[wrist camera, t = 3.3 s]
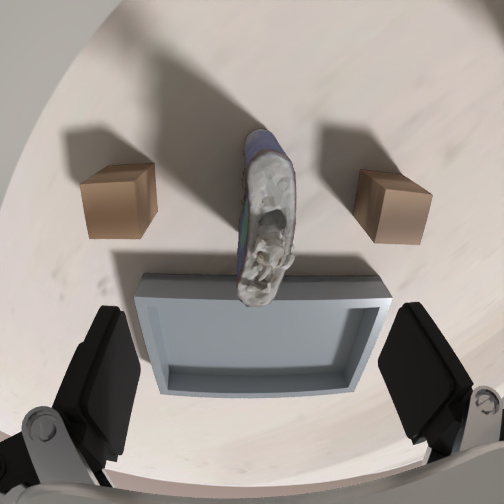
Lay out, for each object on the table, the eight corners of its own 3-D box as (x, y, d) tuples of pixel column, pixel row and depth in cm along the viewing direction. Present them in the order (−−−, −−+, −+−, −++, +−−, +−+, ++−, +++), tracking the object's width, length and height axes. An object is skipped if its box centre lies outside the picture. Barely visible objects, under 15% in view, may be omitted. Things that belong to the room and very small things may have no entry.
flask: (244, 127, 21) (248, 156, 12) (284, 130, 21) (321, 163, 12) (235, 239, 25) (234, 332, 16) (271, 242, 26) (288, 333, 16)
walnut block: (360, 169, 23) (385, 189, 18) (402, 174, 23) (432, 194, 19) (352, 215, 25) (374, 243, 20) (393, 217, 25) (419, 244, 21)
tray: (143, 273, 27) (133, 296, 24) (379, 275, 28) (392, 297, 25) (165, 370, 34) (160, 394, 31) (346, 369, 35) (353, 391, 32)
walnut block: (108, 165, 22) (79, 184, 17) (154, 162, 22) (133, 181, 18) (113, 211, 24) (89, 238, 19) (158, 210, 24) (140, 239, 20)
